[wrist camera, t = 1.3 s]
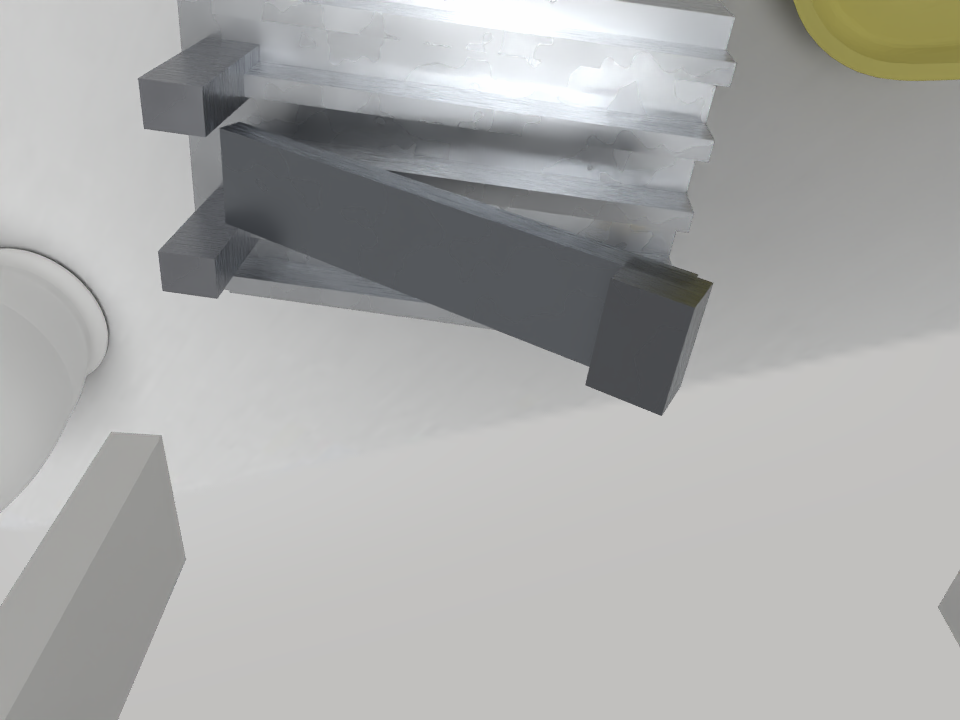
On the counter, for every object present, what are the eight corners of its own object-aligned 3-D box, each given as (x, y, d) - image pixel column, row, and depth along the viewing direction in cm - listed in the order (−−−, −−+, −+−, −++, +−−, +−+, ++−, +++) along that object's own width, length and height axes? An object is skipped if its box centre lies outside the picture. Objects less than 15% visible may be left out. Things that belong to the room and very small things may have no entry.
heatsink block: (707, -11, 33) (774, 57, 23) (632, 285, 41) (658, 431, 31) (228, -79, 33) (91, -40, 23) (244, 230, 41) (145, 359, 31)
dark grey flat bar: (244, 214, 31) (205, 231, 29) (239, 121, 29) (197, 134, 27) (682, 383, 25) (661, 415, 23) (714, 280, 23) (695, 308, 21)
